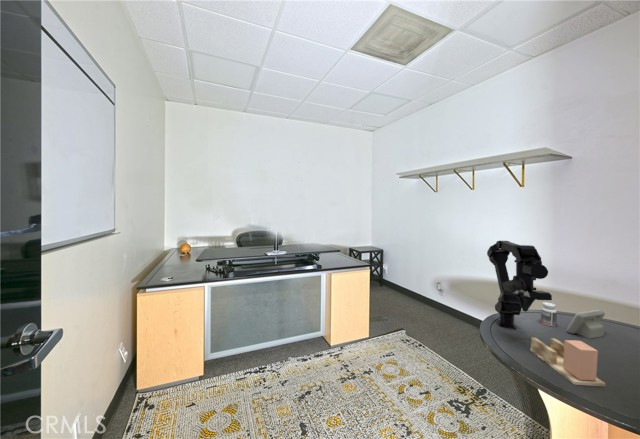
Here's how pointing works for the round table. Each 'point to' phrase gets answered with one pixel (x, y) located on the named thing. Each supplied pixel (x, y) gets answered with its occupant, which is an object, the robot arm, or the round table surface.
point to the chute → (558, 360)
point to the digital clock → (587, 324)
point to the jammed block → (580, 360)
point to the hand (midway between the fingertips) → (524, 311)
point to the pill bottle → (548, 314)
